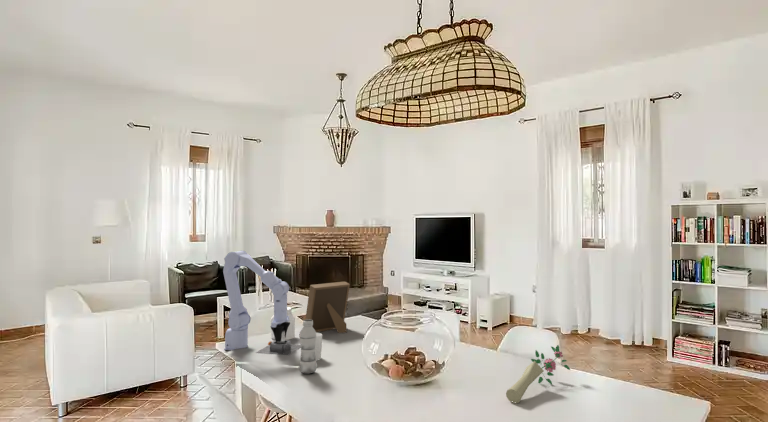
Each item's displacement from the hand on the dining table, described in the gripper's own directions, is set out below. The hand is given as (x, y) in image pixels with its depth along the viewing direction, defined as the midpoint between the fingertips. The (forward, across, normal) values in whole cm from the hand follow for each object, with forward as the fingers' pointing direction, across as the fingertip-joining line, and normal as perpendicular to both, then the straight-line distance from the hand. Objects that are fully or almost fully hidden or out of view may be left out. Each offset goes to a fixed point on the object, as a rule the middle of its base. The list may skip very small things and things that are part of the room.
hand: (280, 340), depth 215 cm
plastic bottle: (+5, -25, -23) cm, 34 cm away
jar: (+5, +20, +8) cm, 22 cm away
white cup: (+5, -7, -18) cm, 20 cm away
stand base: (+5, 0, 0) cm, 5 cm away
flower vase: (+5, -24, -106) cm, 109 cm away
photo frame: (+5, +40, -9) cm, 41 cm away
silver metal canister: (+4, 0, 0) cm, 4 cm away
